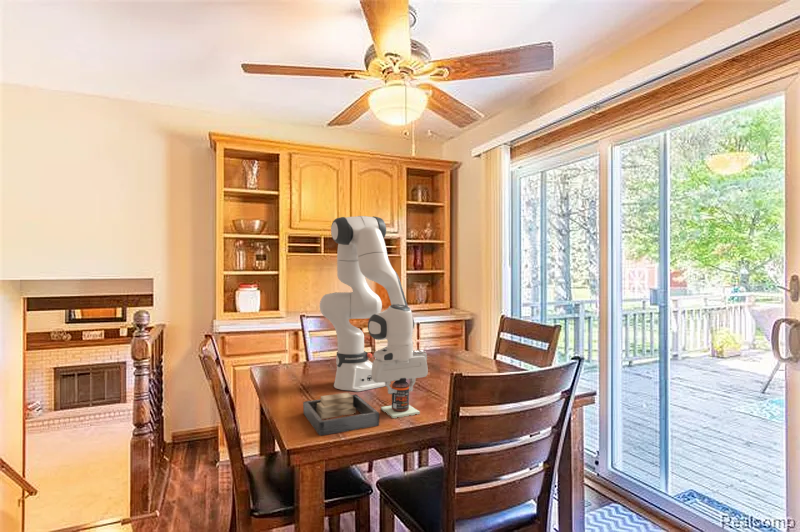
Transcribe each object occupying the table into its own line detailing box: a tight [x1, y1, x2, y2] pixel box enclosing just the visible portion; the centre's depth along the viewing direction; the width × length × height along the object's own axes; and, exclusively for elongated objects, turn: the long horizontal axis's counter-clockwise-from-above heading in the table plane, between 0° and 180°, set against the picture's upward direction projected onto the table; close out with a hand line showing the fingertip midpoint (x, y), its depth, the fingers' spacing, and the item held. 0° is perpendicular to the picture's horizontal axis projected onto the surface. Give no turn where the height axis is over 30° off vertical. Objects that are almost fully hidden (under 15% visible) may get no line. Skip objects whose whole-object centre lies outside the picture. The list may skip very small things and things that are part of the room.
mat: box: [380, 404, 421, 419], centre depth 147 cm, size 10×10×1 cm
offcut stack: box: [316, 392, 357, 420], centre depth 145 cm, size 12×6×6 cm, turn 117°
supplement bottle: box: [391, 378, 410, 412], centre depth 147 cm, size 6×6×11 cm
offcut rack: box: [302, 394, 380, 437], centre depth 140 cm, size 19×21×4 cm
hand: (400, 392), depth 147 cm, fingers closed on supplement bottle, 6 cm apart
